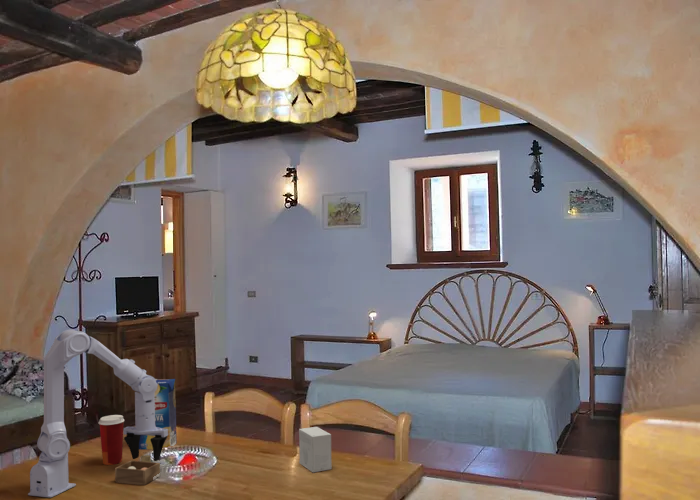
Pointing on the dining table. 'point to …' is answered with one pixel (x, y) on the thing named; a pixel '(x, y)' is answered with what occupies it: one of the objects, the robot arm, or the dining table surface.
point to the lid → (146, 458)
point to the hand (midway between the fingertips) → (146, 459)
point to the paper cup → (111, 439)
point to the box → (136, 472)
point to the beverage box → (163, 413)
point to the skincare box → (315, 449)
